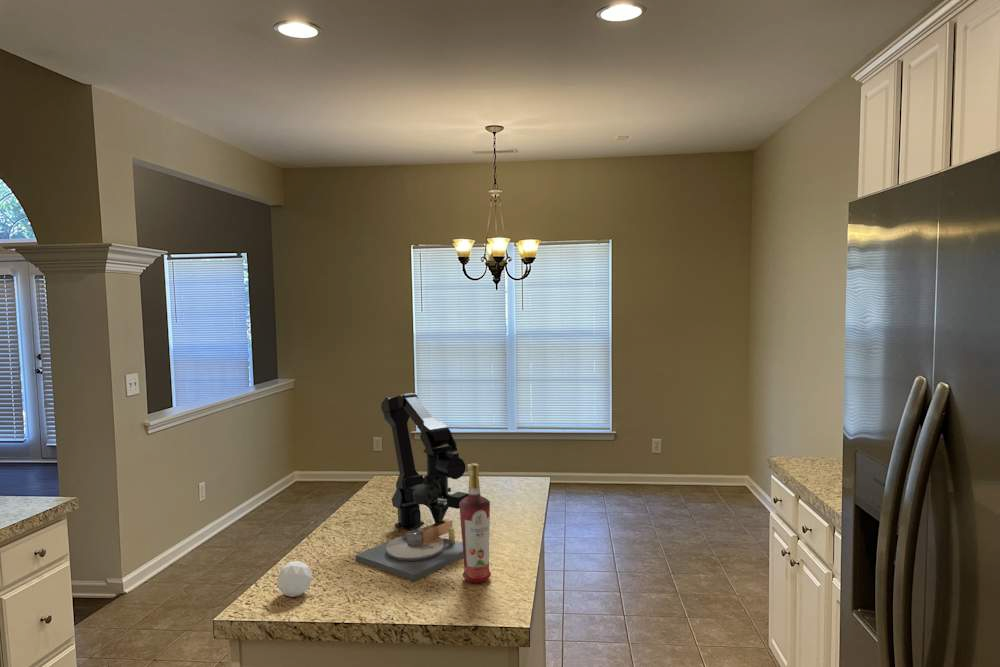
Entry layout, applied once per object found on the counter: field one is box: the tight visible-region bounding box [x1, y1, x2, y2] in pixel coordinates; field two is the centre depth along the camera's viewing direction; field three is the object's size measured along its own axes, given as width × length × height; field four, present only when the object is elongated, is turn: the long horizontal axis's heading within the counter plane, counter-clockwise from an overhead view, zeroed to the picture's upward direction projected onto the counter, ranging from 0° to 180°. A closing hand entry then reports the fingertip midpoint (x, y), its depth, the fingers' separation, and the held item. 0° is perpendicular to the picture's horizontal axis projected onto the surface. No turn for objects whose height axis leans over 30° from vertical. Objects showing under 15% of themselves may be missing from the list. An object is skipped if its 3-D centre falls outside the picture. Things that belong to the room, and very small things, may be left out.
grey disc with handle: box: [386, 518, 453, 561], centre depth 173 cm, size 20×15×5 cm
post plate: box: [355, 526, 464, 582], centre depth 171 cm, size 22×22×6 cm
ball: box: [276, 560, 313, 598], centre depth 150 cm, size 8×8×8 cm
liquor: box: [459, 462, 492, 585], centre depth 154 cm, size 7×7×28 cm
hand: (438, 526), depth 180 cm, fingers closed
